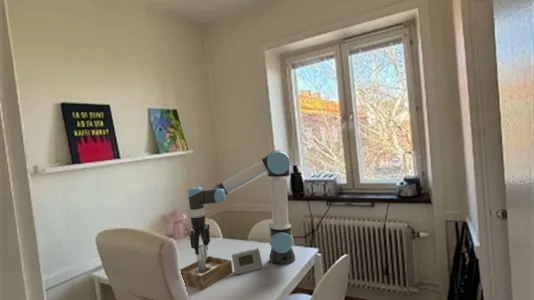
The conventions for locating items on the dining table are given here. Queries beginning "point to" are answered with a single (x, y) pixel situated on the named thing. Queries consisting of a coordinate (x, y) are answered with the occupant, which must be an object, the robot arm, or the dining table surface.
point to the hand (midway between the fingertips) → (202, 258)
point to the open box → (213, 274)
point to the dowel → (202, 260)
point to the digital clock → (247, 261)
